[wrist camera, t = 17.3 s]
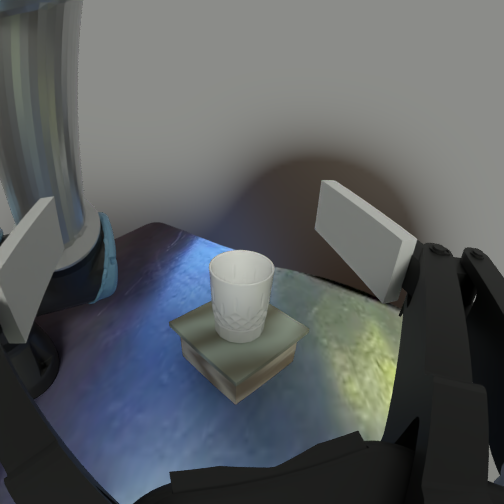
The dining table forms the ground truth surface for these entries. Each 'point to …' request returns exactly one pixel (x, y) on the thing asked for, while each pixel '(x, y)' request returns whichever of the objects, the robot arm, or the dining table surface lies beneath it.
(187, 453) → the dining table surface
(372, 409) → the dining table surface
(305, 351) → the dining table surface
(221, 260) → the white cup
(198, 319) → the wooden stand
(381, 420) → the dining table surface
